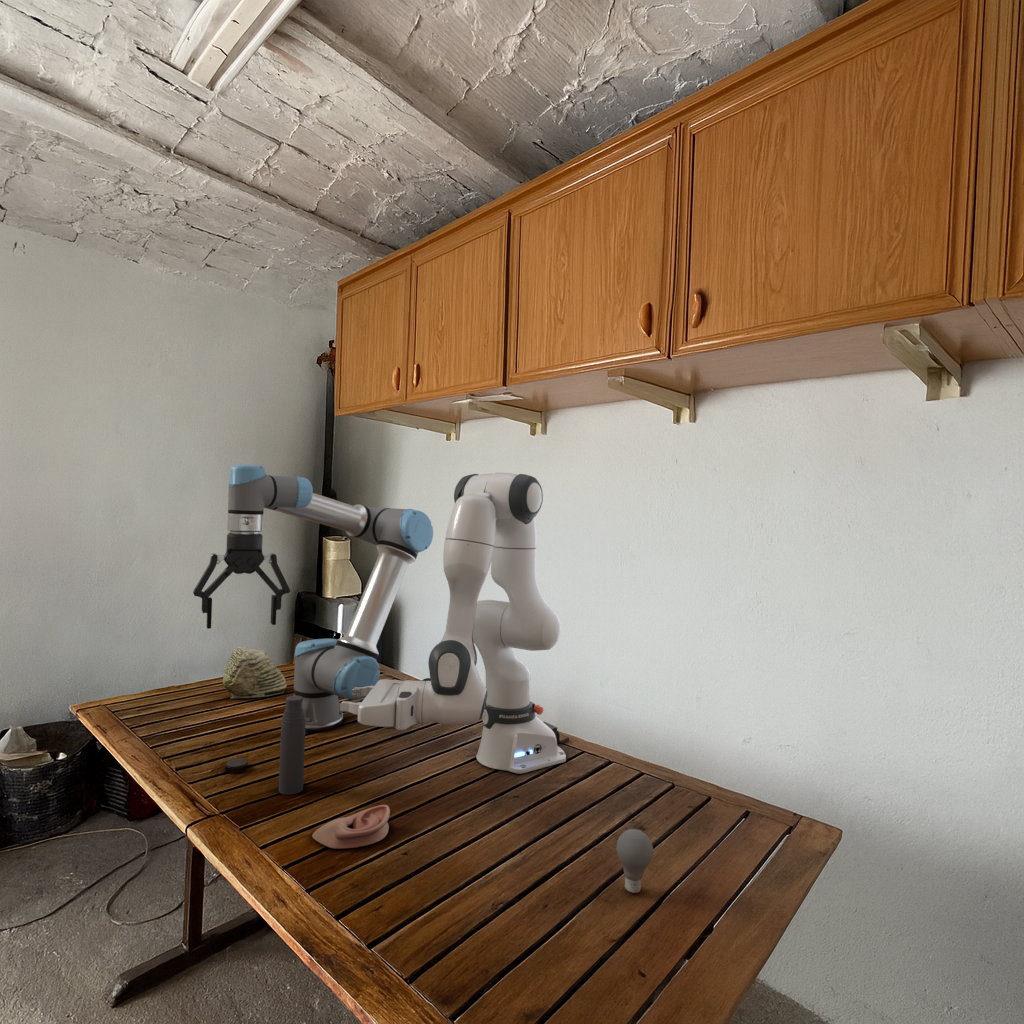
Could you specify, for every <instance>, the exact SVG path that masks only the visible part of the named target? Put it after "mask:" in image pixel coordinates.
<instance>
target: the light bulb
mask: <svg viewBox="0 0 1024 1024" xmlns="http://www.w3.org/2000/svg"><path fill="white" fill-rule="evenodd" d="M615 849H616V854H617V857H618V859H619V861H620V863H621V865H622V867H623V873H624V874H623V875H624V876H625V878H624V888H625V890H627V891H628V892H630V893H634V894H635V893H639V892H640V891H641V889H642V887H641V886H642V879H643V877H644V875H645V871H646V868H647V867H648V866H649V864H650V863H651V861H652V859H653V855H654V847H653V843H652V841H651V838H649V836H648V835H647V834H646V833H645V832H643V831H642V830H641V829H636V828H629V829H627V830H625V831H623V832H622V833H621V834H620V835H619V837H618V839H617V841H616V847H615Z"/></svg>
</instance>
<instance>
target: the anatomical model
mask: <svg viewBox="0 0 1024 1024" xmlns="http://www.w3.org/2000/svg"><path fill="white" fill-rule="evenodd" d="M390 816H391V809H390V807H389V805H388V804H380V805H376V806H372V807H368V808H366V809H363V810H361V811H359V812H356V813H353V814H351V815H349V816H346V817H338V818H336V819H333V820H331V821H328V822H326V823H325V824H323V825H322V826H320V827H319V828H317V829H316V830H315V831H314V832H313V833H312V834H311V837H312V839H313V840H315V841H316V842H318V843H319V844H320V845H322V846H325V847H327V848H330V849H334V850H335V849H336V850H341V849H344V850H345V849H353V848H359V847H365V846H369V845H373V844H375V843H378V842H380V841H382V840H384V839H385V838H386V837H387V835H388V833H389V828H390V826H389V825H390V824H389V823H388V821H389V819H390Z"/></svg>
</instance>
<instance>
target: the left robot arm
mask: <svg viewBox="0 0 1024 1024" xmlns="http://www.w3.org/2000/svg"><path fill="white" fill-rule="evenodd" d="M227 486H228V495H227V496H228V497H227V500H228V501H227V522H226V523H227V524H226V530H227V531H228V533H227V534H226V550H225V554H217V553H214V552H213V553H211V554H210V558H209V563H208V565H207V567H206V569H205V570H204V571H203V573H202V576H201V577H200V578H199V581H198V582H197V584H196V586H195V587H194V589H193V591H192V593H193V596H195V597H197V598H200V599H201V612H202V614H206V629H209V630H210V629H212V616H213V598H212V597H211V595H212V594H213V593H214V592H216V590H217V589H218V588H219V587H220V586H221V585H222V584H223V583H224V582H225V580H227V578H229V576H231V575H232V574H233V573H234V574H235V575H242V574H247V575H252V574H253V573H256V574H257V575H258V576H259V577H260V578H261V580H263V582H264V583H265V584H266V585H267V586H268V588H270V590H272V592H273V593H274V595H273V594H271V596H270V597H271V598H270V599H271V602H270V624H271V625H272V626H276V625H277V611H280V610H281V609H282V600H283V599H282V597H283V595H286V594H290V592H291V589H290V587H289V585H288V584H289V583H287V581H286V579H285V576H284V574H283V572H282V570H281V568H280V567H279V566H280V565H279V564H278V557H277V554H275V553H273V552H271V553H269V554H264V553H263V542H264V541H263V539H264V538H263V537H264V536H263V534H262V533H261V532H263V531H264V511H265V509H267V510H271V511H274V512H279V513H282V514H286V515H289V516H292V517H295V518H300V519H302V520H306V521H310V522H313V523H316V524H320V525H323V526H327V527H331V528H333V529H338V530H341V531H343V532H345V534H347V535H348V536H349V537H352V538H356V539H359V540H361V541H364V542H367V543H370V544H372V545H374V546H376V549H377V552H378V555H377V558H376V561H375V563H374V565H373V568H372V570H371V573H370V576H369V578H368V580H367V583H366V584H365V587H364V590H363V592H362V595H361V597H360V600H359V602H358V604H357V607H356V609H355V612H354V614H353V617H352V619H351V622H350V624H349V627H348V628H347V631H346V634H345V635H344V636H341V637H340V638H338V639H337V638H317V639H308V640H304V641H300V642H299V643H297V645H296V646H295V650H294V655H293V657H294V672H293V673H294V674H293V696H302V697H303V701H302V708H303V711H304V714H305V720H306V725H305V733H316V732H325V731H329V730H332V729H335V728H337V727H339V726H340V725H342V723H343V722H344V713H343V712H344V711H341V710H340V704H341V702H340V699H339V698H341V699H344V700H346V699H347V700H349V701H355V703H357V702H362V701H363V700H364V699H365V696H361V697H353V696H352V690H353V689H354V688H355V687H367V686H375V684H376V683H377V682H378V681H379V680H380V676H381V670H380V664H379V662H378V661H377V660H378V658H379V654H380V653H379V651H378V648H377V645H378V642H379V640H380V637H381V634H382V631H383V629H384V627H385V624H386V621H387V620H388V617H389V614H390V612H391V609H392V606H393V603H394V601H395V599H396V596H397V593H398V591H399V589H400V586H401V583H402V581H403V579H404V576H405V573H406V571H407V568H408V566H409V565H410V564H412V563H415V562H416V561H417V557H418V555H419V553H423V552H424V551H425V550H427V549H429V548H430V546H431V545H432V542H433V539H434V526H433V525H432V521H431V519H430V517H429V516H428V515H427V514H426V513H424V512H423V511H421V510H418V509H413V508H394V507H393V508H391V507H372V506H366V505H364V504H360V503H359V504H354V505H352V504H349V503H345V502H342V501H339V500H336V499H334V498H331V497H327V496H324V495H321V494H318V493H315V492H314V489H313V485H312V483H311V480H309V479H308V478H306V477H302V476H298V475H297V476H296V475H295V476H293V475H292V476H290V475H270V474H267V473H266V468H265V466H263V465H256V464H238V463H237V464H233V465H232V466H230V468H229V474H228V482H227ZM222 561H224V562H225V564H226V565H227V566H226V567H225V568H224V569H223V571H222V572H221V573H220V574H219V575H218V576H217V577H216V578H215V579H214V580H213V581H212V582H211V583H210V585H209V586H207V588H206V589H205V590H203V589H204V587H205V586H206V585H207V582H208V581H209V580H210V578H211V575H213V572H214V570H215V569H216V566H217V565H220V564H221V562H222ZM264 561H266V563H267V564H270V567H271V569H272V570H273V573H274V575H275V577H276V579H277V581H278V584H279V585H280V587H281V588H279V587H278V586H277V585H276V584H275V583H274V582H273V580H272V579H271V578H270V577H269V576H268V575H267V574H266V572H265V571H264V570H263V569H262V568H261V567H260V566H261V565H262V563H263V562H264ZM420 681H431V680H430V677H425V678H423V679H422V680H420ZM357 700H358V701H357Z"/></svg>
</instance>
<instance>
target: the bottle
mask: <svg viewBox="0 0 1024 1024" xmlns="http://www.w3.org/2000/svg"><path fill="white" fill-rule="evenodd" d="M302 701H303V697H302V696H294V695H289V696H287V697H285V709H284V712H283V713H282V714H283V715H282V717H281V721H280V740H279V741H280V744H279V767H278V770H279V771H278V793H280V794H282V795H286V796H287V795H288V796H289V795H291V796H292V795H296V794H299V793H300V792H302V791H304V777H305V776H304V773H305V750H306V747H305V746H306V732H305V725H306V720H305V714H304V711H303V708H302Z"/></svg>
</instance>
